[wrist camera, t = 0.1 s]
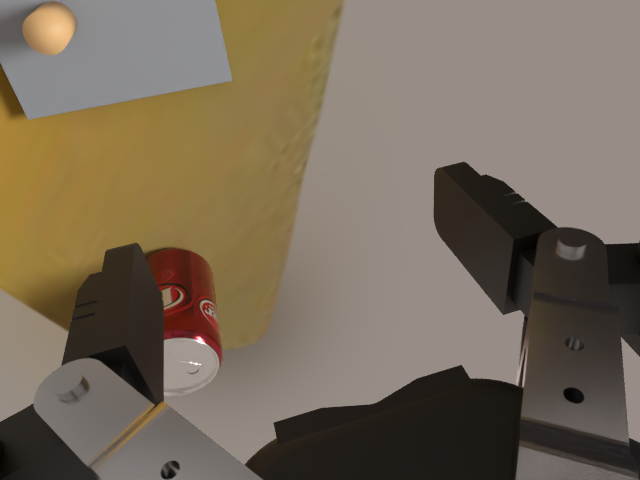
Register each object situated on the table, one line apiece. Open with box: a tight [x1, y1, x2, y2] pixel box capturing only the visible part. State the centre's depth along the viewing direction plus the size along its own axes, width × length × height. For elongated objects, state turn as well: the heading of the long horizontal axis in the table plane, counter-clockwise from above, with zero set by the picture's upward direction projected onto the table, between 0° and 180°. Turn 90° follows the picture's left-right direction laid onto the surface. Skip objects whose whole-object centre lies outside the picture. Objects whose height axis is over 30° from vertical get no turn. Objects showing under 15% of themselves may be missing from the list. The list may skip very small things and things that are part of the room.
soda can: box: [146, 249, 223, 396], centre depth 43 cm, size 7×7×12 cm
